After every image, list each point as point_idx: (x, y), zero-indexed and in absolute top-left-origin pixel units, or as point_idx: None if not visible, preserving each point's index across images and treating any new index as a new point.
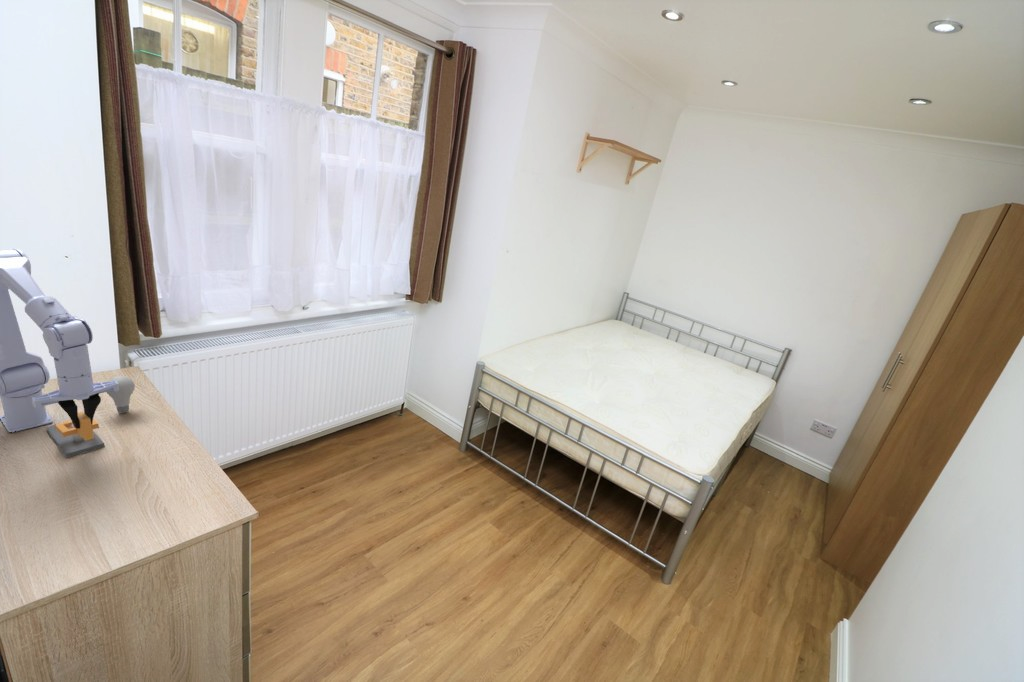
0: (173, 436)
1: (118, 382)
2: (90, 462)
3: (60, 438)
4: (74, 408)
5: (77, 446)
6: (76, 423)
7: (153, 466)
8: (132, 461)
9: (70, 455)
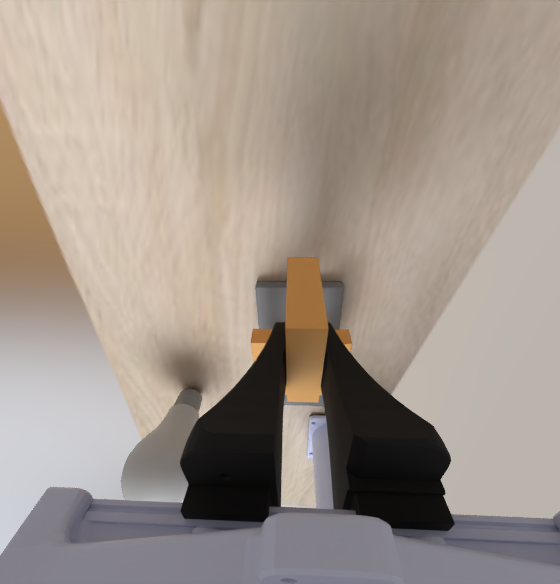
0: (83, 226)
1: (151, 492)
2: (308, 221)
3: None
4: (367, 420)
5: None
6: (334, 338)
7: (146, 38)
8: (208, 142)
9: (334, 283)
